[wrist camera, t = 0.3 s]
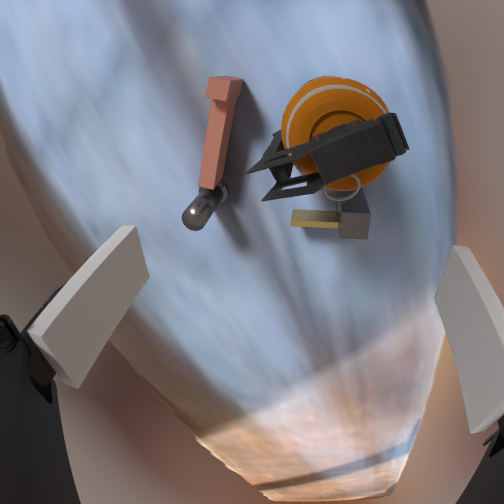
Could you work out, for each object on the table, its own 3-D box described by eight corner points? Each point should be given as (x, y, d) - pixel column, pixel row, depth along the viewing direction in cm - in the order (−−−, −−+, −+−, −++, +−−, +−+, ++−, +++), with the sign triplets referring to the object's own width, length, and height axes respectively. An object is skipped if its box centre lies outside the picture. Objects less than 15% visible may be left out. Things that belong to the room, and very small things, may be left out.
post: (198, 178, 40) (174, 203, 34) (227, 178, 39) (208, 203, 33) (201, 205, 42) (180, 234, 36) (229, 206, 42) (212, 235, 35)
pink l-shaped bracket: (208, 174, 39) (191, 191, 34) (225, 76, 32) (209, 77, 27) (224, 178, 39) (210, 196, 34) (243, 79, 32) (230, 80, 27)
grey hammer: (293, 182, 38) (288, 209, 31) (360, 185, 36) (370, 213, 30) (293, 210, 40) (288, 241, 34) (358, 213, 38) (366, 245, 32)
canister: (379, 133, 32) (440, 200, 16) (297, 167, 37) (280, 259, 20) (347, 64, 29) (387, 56, 12) (262, 103, 33) (207, 138, 17)
